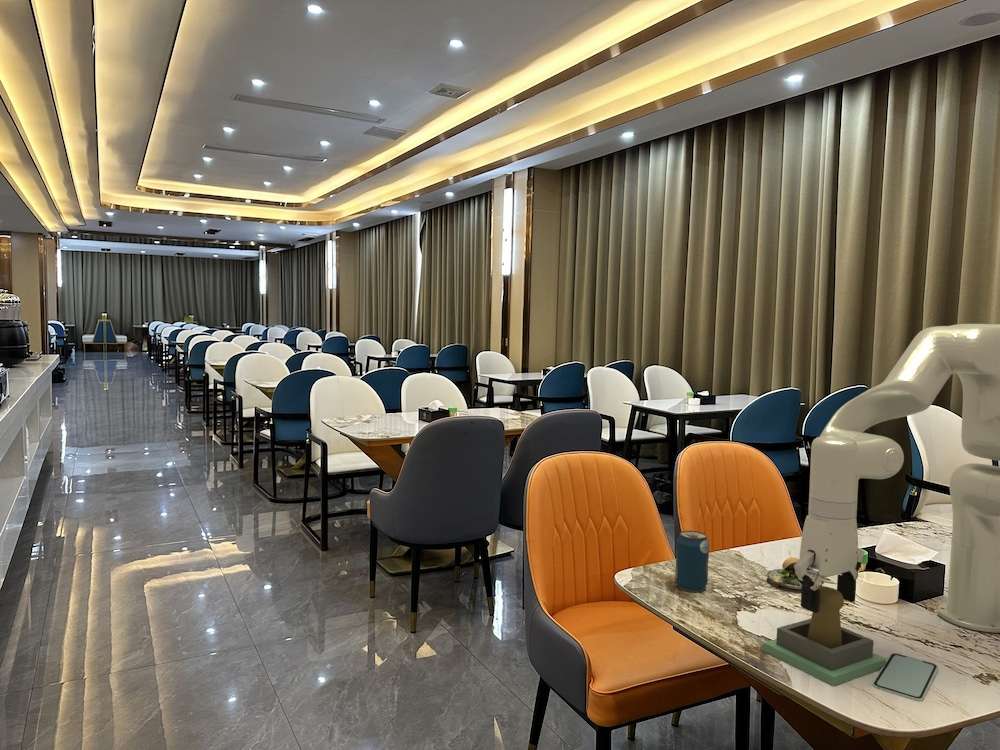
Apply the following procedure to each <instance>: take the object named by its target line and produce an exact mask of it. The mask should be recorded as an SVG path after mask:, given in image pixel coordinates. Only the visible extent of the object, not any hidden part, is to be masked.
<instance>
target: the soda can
mask: <svg viewBox="0 0 1000 750" xmlns="http://www.w3.org/2000/svg"><path fill="white" fill-rule="evenodd" d="M709 556H710V542H709V540H708V536H707V534H706V533H705V532H701V531H698V530H682V531H680V532H679V535H678V537H677V539H676V549H675V570H674V571H675V575H674V577H675V578H674V580H675V583H676V585H677V587H678V588H679V589H680V590H683V591H686V592H690V593H698V592H702V591H704V590H705V589H706V588H707V585H708V582H709V581H708V579H709V577H708V576H709Z"/></svg>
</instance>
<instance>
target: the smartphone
mask: <svg viewBox="0 0 1000 750" xmlns="http://www.w3.org/2000/svg"><path fill="white" fill-rule="evenodd" d="M938 671H939V666H938V664H936V663H934V662H930V661H926V660H924V659H920V658H916V657H912V656H908V655H905V654H902V653H901V654H900V653H896V652H892V653H890V655H889V656H888V657H887V659H886V665H884V666H883V667H882V668H881V669H880V670H878V673H877V675H876V676H875V678H874V680H873V681H872V684H871V685H872V687H873V688H875V689H878V690H880V691H883V692H886V693H889V694H892V695H895V696H896V695H897V696H899V697H903V698H906V699H908V700H912V701H915V702H923V701H924V700H925V698H926V696H927V694H928V692H929V689H930V688H931V686H932V683H933V682H934V681H935V678H936V675H937V674H938Z"/></svg>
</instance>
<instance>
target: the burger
mask: <svg viewBox="0 0 1000 750" xmlns="http://www.w3.org/2000/svg"><path fill="white" fill-rule="evenodd" d="M788 553H789V555H791V553H790V550H789V551H788ZM799 559H800V558H797V557H791V556H789V557H788V558H786V559H785V560H784V562H783V563H782V564H781V567H782V568H777V569H772V570H770V571H768V572H767V574H766V576H767V578H766V582H767V584H768V585H770V587H771V586H772V587H773V588H774V589H778V586H782V587H783V588H784V587H786V588H788V589H793V590H801V588H802V586H801V585H800V584H799V581H798V580H797V577H796V576H797V575H796V572H795V569H794V565H795V564H796V563H797V562H798V561H799ZM814 578H815V576H813V575H811V576H810V579H811V580H812V581H813V580H814ZM824 584H825V582H824V580H823V579H822V580H821V582H820V584H819V586H818V587H823V585H824Z"/></svg>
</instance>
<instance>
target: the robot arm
mask: <svg viewBox="0 0 1000 750" xmlns="http://www.w3.org/2000/svg"><path fill="white" fill-rule="evenodd" d="M953 374H956V375H957V376H958V378H959V380H960V382H961V386H962V412H961V413H962V414H961V429H960V430H961V433H960V434H961V445H962V448H963V450H964V451H965V452H966V453H968V454H969V455H972V456H974V457H977V458H982V459H986V460H987V459H988V460H992V461H998V462H1000V324H999V323H996V324H995V323H994V324H993V323H960V324H952V325H939V326H937V325H936V326H930V327H927V328H924V329H922V330H921V331H919V332H918V333H917V334H915V336H914V337H913V339H912V340H911V342H910V343H909V345H908V346H907V347H906V349H905V350H904V352H903V353H902V355H901V356H900V357H899V359H898V361H897V362H896V364H895V365H894V366H893V367H892V369H891V370H890V372H889V374H888V375H887V377H886V378H885V379H884V380H883V381H882V382H881V383H880V384H877V385H875V386H873V387H871V388H870V389H867V390H865V391H864V392H862V393H860V394H859V395H857V396H855V397H854V398H852V399H850V400H848V401H847V402H846V403H844V404H843V405H842V406H841V407H840V408H838V409H837V410H836V412H835V413H834V414H833V415H832V417H831V418H830V420H829V421H828V423H827V424H826V425H825V427H824V429H823V430H822V431H821V434H820V435H819V436H818V437H817V436H816V438H814V439H813V440H812V443H811V448H810V471H809V472H810V473H809V493H808V514H807V515H806V517H805V519H804V520H805V521H804V524H803V527H802V528H803V529H802V533H801V541H800V542H801V543H800V550H799V558H798V559H799V561H798V562H797V563H796V564H795V565H794V569H795V572H796V575H797V576H796V577H797V580H798V581H799V584H800V585H801V586H802V588H801V589H800V590H801V591H800V592H801V595H800V607H801V608H802V609H804V610H805V611H809V612H811V613H812V612H814V613H818V612H819V601H820V590H818V589H817V588H818V587H820V586H819V584H820V582H821V580H823V579H824V578H829V577H833V576H837V585H836V590H838V591H839V592H840V593H841V594H842V596H843V600H844V601H847V602H850V603H854V602H855V601H856V587H857V580H858V579H859V573H858V572H859V570H860V569H861V568H862V563H861V562H862V561H863V559H864V558H863V557H864V555H865V551H864V550H862V549H861V548H859V535H858V534H859V533H858V532H859V531H858V523H857V521H858V520H857V515H858V513H857V511H858V494H859V493H858V490H859V480H860V479H870V480H884V479H888V478H891V477H894V476H895V475H896V474H898V472H900V470H901V469H902V467H903V465H904V461H905V455H904V451H903V449H902V447H901V445H900V444H899V443H898V442H896V441H895V440H894V439H892V438H889V437H887V436H883V435H877V434H873V433H867V432H865V431H866V430H868V429H870V427H873V426H875V425H877V424H880V423H882V422H886V421H891V420H894V419H899V418H900V419H901V418H904V417H905V418H906V417H909V416H912V415H915V414H918V413H922V412H924V411H926V410H927V409H929V408H930V407H931V405H932V404H933V402H934V401H935V399H936V397H937V396H938V394H939V393H940V391H941V390H942V389H943V387H944V385H946V382H947V381H948V380H949V378H950V377H951V376H952V375H953ZM949 479H950V480H949V494H950V500H951V506H952V507H951V508H952V529H951V531H952V532H951V542H950V544H951V545H950V558H949V559H950V561H949V572H948V587H947V588H948V589H947V601H946V602H944V603H941V604H939V605H938V607H937V614H938V616H940V617H941V618H942V619H943V620H944V621H947V622H949V623H952V624H953V625H956V626H959V627H962V628H965V629H969V630H973V631H977V632H984V633H993V634H994V633H995V634H996V633H998V634H999V633H1000V466H997V465H991V464H986V463H966V464H962V465H960V466H958V467H957V468H955V469H954V471H953V472H952V473H951V475H950V478H949ZM811 575H813V576H815V578H814V580H813V581H812V580H811V579H810V576H811Z"/></svg>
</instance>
